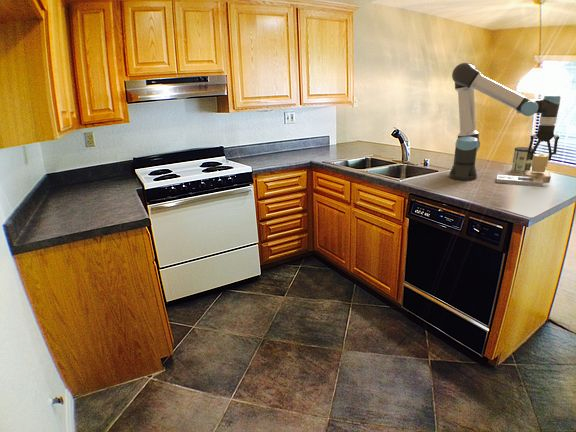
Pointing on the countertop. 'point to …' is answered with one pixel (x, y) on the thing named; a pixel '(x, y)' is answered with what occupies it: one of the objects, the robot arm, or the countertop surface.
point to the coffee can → (521, 160)
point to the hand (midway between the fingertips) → (538, 165)
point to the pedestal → (538, 175)
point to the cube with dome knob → (539, 163)
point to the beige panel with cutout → (519, 180)
